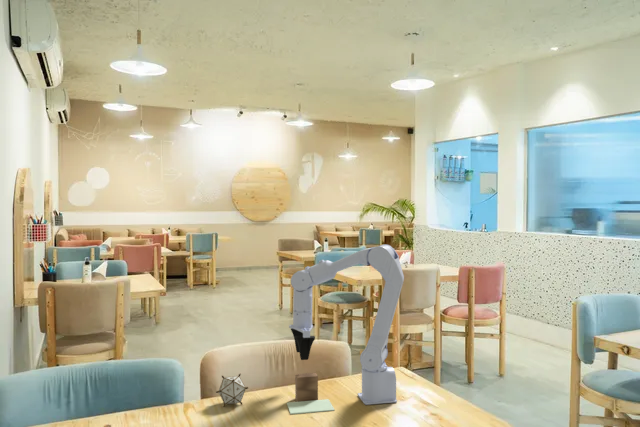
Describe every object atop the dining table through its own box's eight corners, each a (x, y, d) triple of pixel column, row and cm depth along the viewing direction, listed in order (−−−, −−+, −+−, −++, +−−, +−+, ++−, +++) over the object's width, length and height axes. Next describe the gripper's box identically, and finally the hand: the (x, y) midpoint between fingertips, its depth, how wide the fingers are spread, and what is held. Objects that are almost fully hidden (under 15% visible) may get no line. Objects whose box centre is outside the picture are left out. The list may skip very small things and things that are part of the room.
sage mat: (328, 400, 142) (328, 399, 142) (334, 410, 135) (334, 409, 135) (286, 403, 140) (286, 402, 140) (290, 414, 132) (290, 413, 132)
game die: (236, 419, 138) (239, 398, 132) (209, 406, 140) (211, 385, 134) (251, 394, 145) (254, 373, 140) (225, 382, 147) (228, 360, 141)
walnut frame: (315, 396, 145) (315, 372, 145) (317, 400, 142) (317, 376, 142) (295, 398, 144) (295, 374, 144) (297, 402, 141) (296, 377, 141)
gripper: (286, 306, 156) (285, 349, 156) (293, 316, 141) (292, 363, 142) (308, 305, 157) (308, 348, 157) (317, 315, 143) (316, 362, 143)
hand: (302, 355), depth 150 cm, fingers open, 7 cm apart
